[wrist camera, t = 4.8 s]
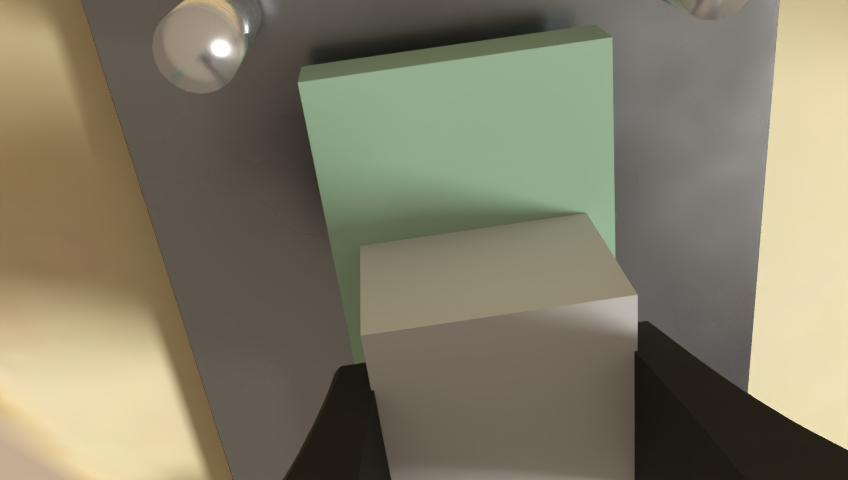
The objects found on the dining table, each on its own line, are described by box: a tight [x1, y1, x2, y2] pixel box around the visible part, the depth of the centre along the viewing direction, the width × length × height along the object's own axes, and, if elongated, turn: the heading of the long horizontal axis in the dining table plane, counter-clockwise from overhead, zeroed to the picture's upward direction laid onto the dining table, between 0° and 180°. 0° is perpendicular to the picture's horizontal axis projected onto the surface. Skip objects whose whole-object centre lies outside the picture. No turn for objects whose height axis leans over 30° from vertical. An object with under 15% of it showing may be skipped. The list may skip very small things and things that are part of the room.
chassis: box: [81, 0, 780, 480], centre depth 15 cm, size 16×12×4 cm
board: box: [298, 24, 638, 480], centre depth 14 cm, size 10×5×4 cm, turn 7°
